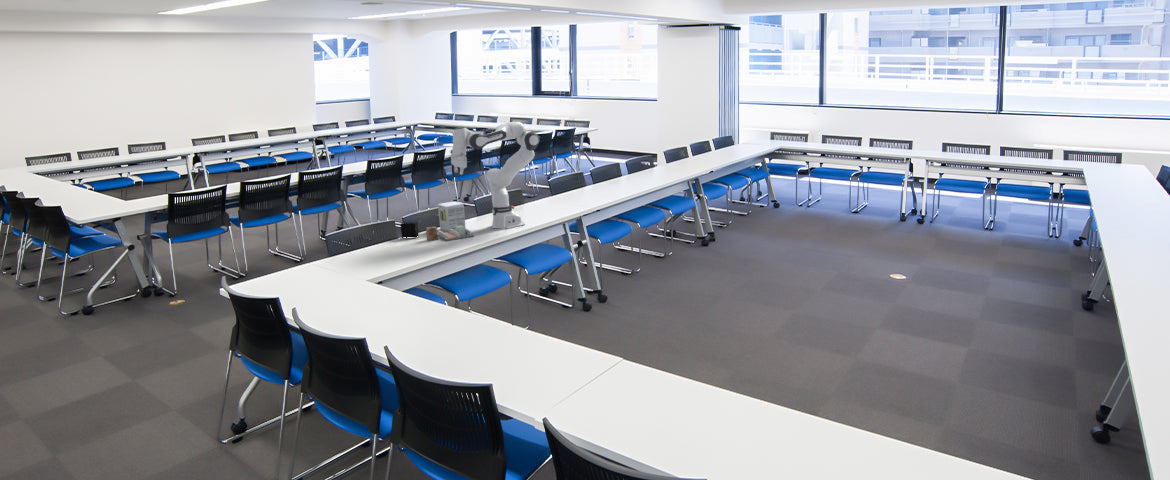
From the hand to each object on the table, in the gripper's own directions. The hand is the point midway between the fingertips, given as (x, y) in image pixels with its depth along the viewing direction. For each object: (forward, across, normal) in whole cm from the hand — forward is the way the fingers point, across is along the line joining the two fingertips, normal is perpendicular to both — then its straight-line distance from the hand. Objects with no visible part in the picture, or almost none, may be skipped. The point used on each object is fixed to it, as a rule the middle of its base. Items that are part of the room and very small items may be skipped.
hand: (458, 173), depth 492 cm
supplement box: (+40, +15, -3) cm, 43 cm away
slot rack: (+40, -6, +3) cm, 41 cm away
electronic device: (+44, +10, +28) cm, 53 cm away
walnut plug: (+42, -5, +18) cm, 46 cm away
